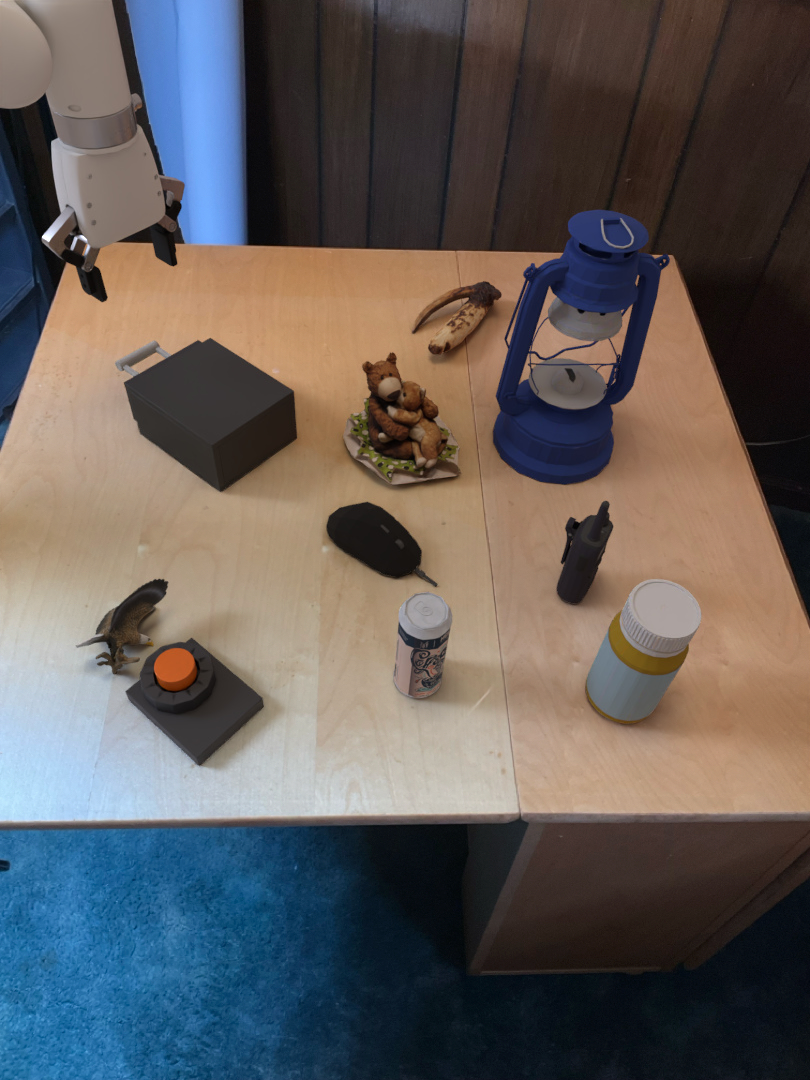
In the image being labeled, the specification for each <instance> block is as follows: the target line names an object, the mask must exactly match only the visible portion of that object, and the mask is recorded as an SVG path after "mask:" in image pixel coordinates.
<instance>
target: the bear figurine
mask: <svg viewBox="0 0 810 1080" xmlns="http://www.w3.org/2000/svg"><path fill="white" fill-rule="evenodd" d="M397 359H398V357H397V354H396V353H394V351H392V352H389V353H388V355H387V358H386V360H382V359H381V360H378V361H376V362H375V363H372V362H370V361H368V360H367V361H365V362H363V363H362V365H361V368H362V371H363V372H364V373H365V374H366V381H367V382H366V383H367V389H368V391H369V392H370V394H369V396H368V397H366V398H365V397H364V398H363V405H364V409H363V410H362V411H361V412H354V413H351V414H350V415H349V418H347V420H346V422H345V427H344V431H343V435H342V438H343V441H344V444H345V446H346V448H347V451H348V452H349V455H350V456H351V457H352V458H353V459H354V460H357V461H359V462H360V463H362V464H363V465H364V466H366V468H368V469H369V470H370V471H371V472H373V473H374V474H376V475H377V476H378V477H380V478H381V479H383V480H384V481H385V482H387V483H388V484H389V485H405V484H413V483H422V482H425V481H428V480H435V479H443V478H451V477H457V476H458V477H459V476H460V475H462V472H461V469H460V468H459V465H458V463H459V451H460V449H461V447H460V445H459V443H458V442H457V440H456V438H455V436H454V435H453V432H452V429H450V427H448V425H446V423H445V422H444V420H442V418H441V417H440V416H439V413H440V412H439V406H438V405H437V404H436V403H435V402H434V401H433V400H432V399H430V398H429V397H428V396H426V394H427V390H426V389H427V388H425V387H421V385H419V384H418V383H417V382H414V381H412V380H402V377H401V374H400V372H399V369H398V367H397Z"/></svg>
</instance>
